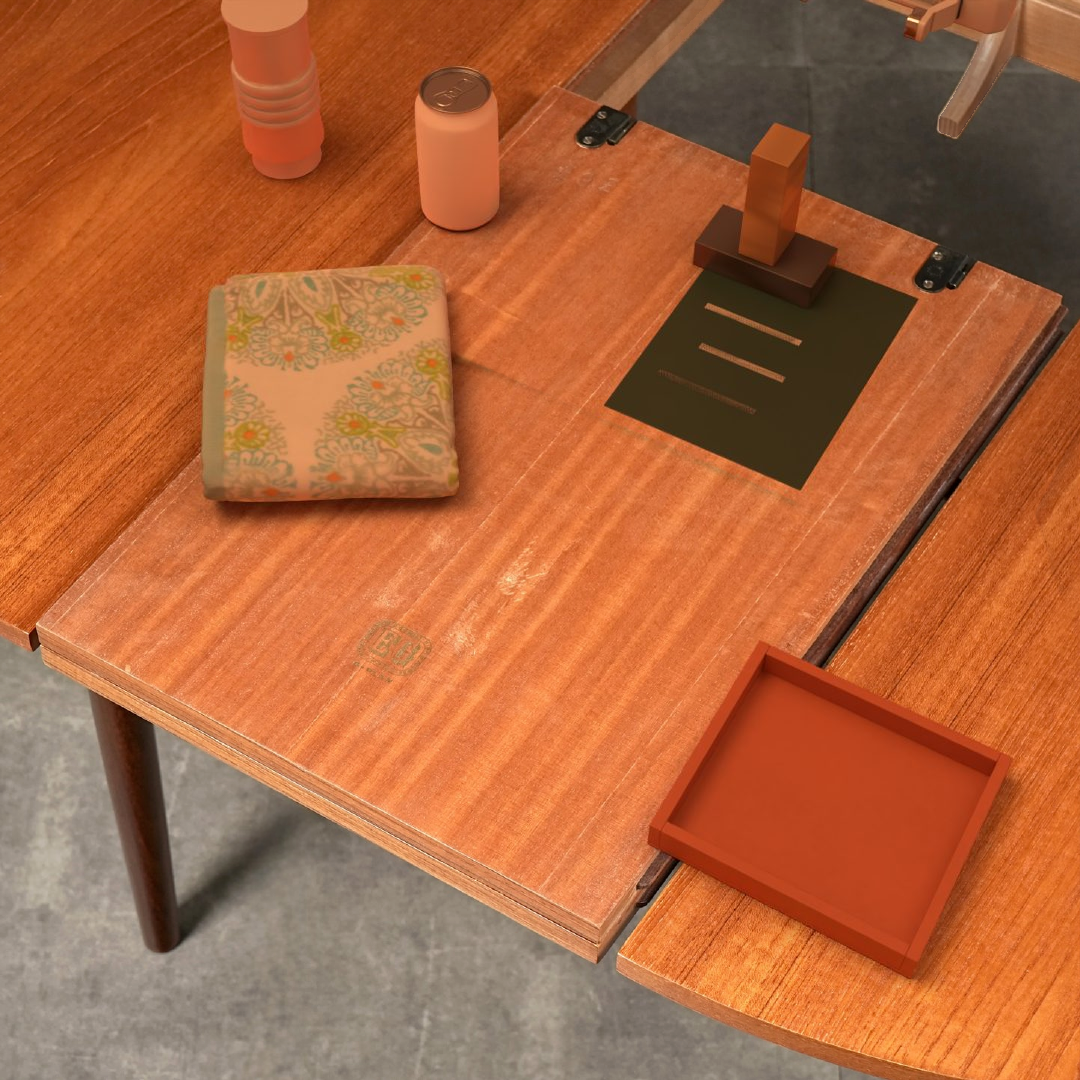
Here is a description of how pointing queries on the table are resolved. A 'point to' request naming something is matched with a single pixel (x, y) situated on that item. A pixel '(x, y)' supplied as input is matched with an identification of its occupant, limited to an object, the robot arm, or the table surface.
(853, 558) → the table surface
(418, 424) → the towel
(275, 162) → the pink ridged cylinder
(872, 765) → the tray
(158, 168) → the table surface
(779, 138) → the duster
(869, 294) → the slate board
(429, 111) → the can
